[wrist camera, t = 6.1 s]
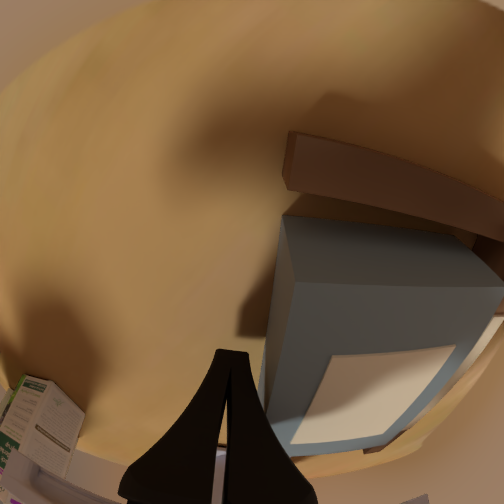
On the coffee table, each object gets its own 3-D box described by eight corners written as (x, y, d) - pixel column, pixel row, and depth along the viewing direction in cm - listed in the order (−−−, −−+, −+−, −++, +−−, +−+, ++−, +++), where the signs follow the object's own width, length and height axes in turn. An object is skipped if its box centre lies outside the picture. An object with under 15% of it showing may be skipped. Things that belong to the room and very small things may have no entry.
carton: (371, 390, 16) (385, 445, 12) (256, 393, 16) (254, 457, 12) (449, 231, 10) (509, 288, 6) (281, 210, 10) (295, 284, 6)
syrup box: (52, 379, 17) (1, 504, 4) (88, 415, 19) (52, 527, 7) (23, 372, 17) (-26, 476, 5) (56, 406, 20) (19, 503, 7)
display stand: (372, 422, 18) (380, 453, 15) (234, 423, 17) (231, 460, 14) (506, 203, 9) (547, 230, 6) (289, 130, 8) (304, 138, 5)
